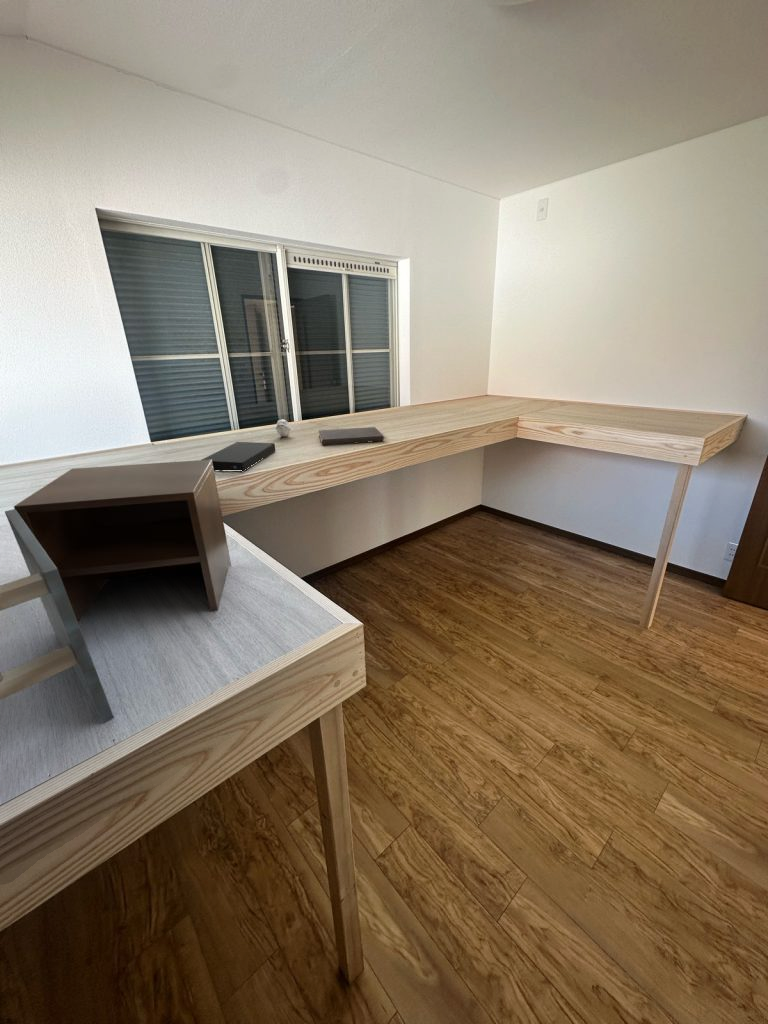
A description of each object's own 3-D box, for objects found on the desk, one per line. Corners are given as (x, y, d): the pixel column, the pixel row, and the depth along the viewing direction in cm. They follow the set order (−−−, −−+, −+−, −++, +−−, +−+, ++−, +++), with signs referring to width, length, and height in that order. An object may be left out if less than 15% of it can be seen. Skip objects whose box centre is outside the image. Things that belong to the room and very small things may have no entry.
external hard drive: (275, 451, 145) (274, 443, 144) (243, 472, 124) (242, 462, 123) (237, 450, 147) (236, 441, 146) (200, 470, 126) (198, 460, 125)
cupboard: (219, 619, 61) (193, 492, 53) (66, 639, 57) (13, 506, 49) (231, 567, 74) (212, 459, 66) (108, 581, 70) (71, 468, 62)
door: (25, 780, 39) (-69, 609, 31) (-7, 673, 51) (-80, 530, 43) (117, 727, 44) (57, 568, 36) (68, 640, 57) (15, 508, 49)
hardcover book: (318, 436, 166) (318, 430, 165) (375, 432, 170) (375, 426, 169) (322, 445, 151) (321, 439, 151) (383, 441, 156) (383, 435, 155)
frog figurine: (274, 438, 162) (272, 421, 159) (279, 434, 168) (277, 417, 166) (289, 438, 162) (288, 421, 159) (294, 434, 168) (292, 417, 165)
